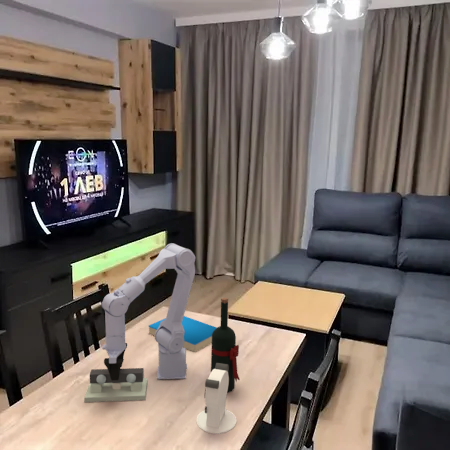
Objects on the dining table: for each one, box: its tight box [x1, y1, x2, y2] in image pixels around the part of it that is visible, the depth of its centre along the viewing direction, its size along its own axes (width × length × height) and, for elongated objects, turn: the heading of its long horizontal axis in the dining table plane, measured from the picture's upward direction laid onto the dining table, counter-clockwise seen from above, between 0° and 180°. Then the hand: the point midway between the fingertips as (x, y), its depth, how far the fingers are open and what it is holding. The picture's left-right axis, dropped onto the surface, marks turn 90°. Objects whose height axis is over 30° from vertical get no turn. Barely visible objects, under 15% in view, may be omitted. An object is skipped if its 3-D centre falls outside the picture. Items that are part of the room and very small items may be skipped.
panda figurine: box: [195, 363, 237, 435], centre depth 126 cm, size 12×11×15 cm
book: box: [148, 315, 218, 353], centre depth 179 cm, size 17×4×25 cm
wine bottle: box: [210, 297, 240, 394], centre depth 140 cm, size 8×10×30 cm
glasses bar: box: [89, 367, 145, 384], centre depth 139 cm, size 16×4×3 cm, turn 95°
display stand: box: [83, 377, 148, 403], centre depth 139 cm, size 18×10×4 cm, turn 96°
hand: (116, 373), depth 139 cm, fingers open, 7 cm apart
